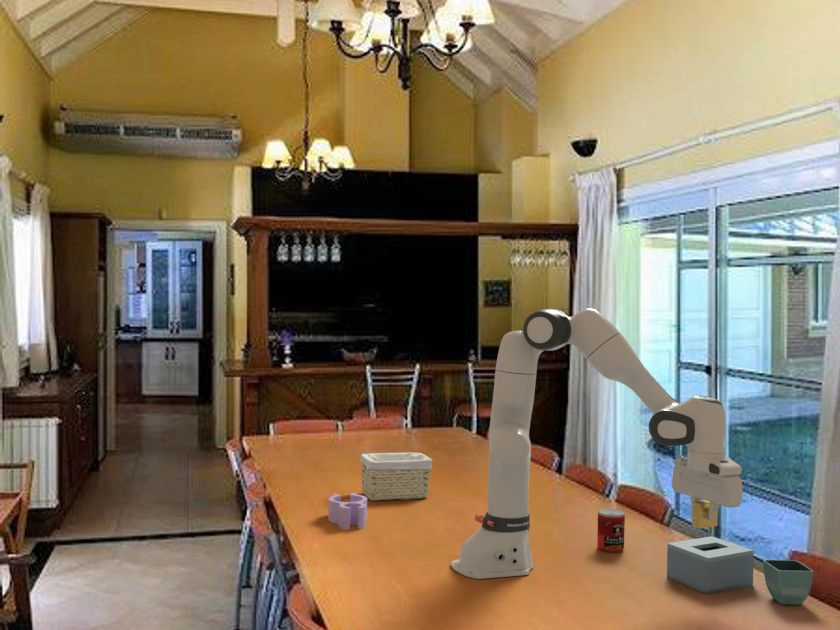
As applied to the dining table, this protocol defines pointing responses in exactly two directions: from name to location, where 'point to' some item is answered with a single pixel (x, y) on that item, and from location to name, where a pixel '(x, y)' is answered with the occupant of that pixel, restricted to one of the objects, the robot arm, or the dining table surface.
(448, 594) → the dining table surface
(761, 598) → the dining table surface
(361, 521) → the clip
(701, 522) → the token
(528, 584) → the dining table surface
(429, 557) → the dining table surface
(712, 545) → the tissue box
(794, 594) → the flower pot
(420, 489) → the storage basket
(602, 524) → the canned food
